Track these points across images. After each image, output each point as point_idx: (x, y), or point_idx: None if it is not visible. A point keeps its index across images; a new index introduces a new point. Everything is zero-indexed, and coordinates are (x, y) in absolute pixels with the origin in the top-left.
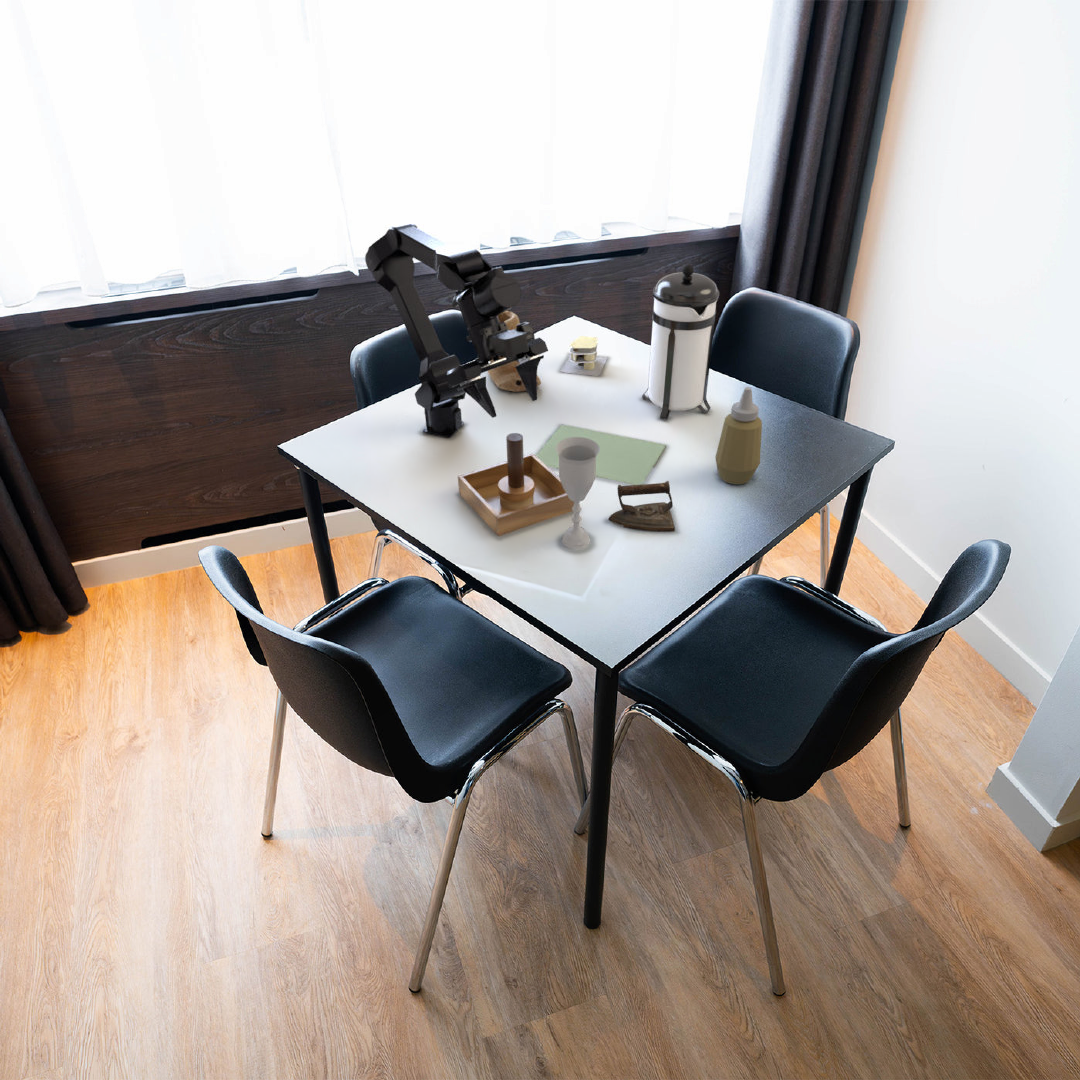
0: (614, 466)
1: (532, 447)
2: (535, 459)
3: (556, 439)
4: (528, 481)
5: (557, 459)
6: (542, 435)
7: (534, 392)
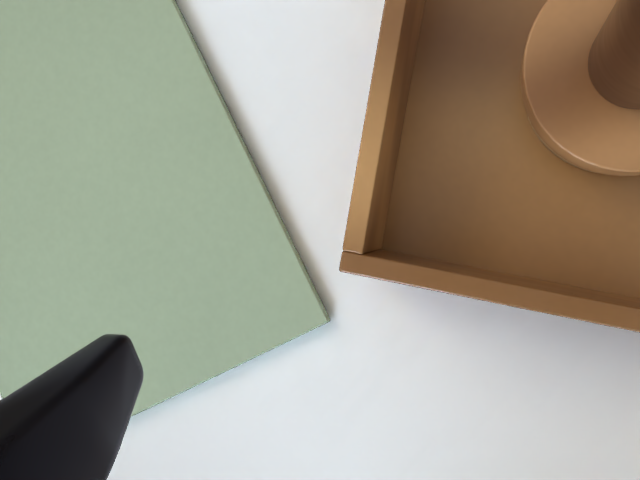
0: (85, 46)
1: (232, 424)
2: (370, 206)
3: None
4: (561, 37)
5: (221, 254)
6: (138, 467)
7: (69, 378)
